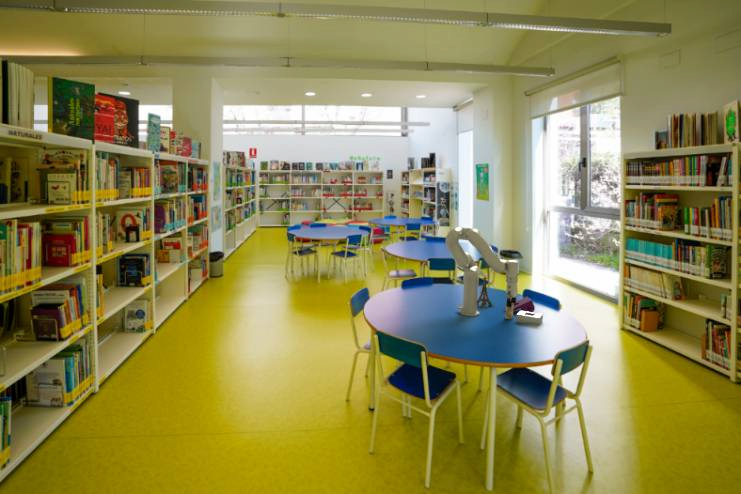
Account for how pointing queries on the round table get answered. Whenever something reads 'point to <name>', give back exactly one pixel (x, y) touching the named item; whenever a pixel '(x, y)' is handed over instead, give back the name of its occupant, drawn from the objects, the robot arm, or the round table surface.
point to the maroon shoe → (524, 305)
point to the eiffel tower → (484, 292)
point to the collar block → (529, 318)
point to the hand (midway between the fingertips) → (511, 305)
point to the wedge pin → (509, 312)
